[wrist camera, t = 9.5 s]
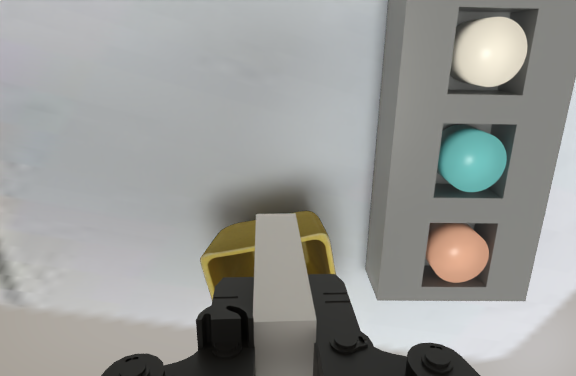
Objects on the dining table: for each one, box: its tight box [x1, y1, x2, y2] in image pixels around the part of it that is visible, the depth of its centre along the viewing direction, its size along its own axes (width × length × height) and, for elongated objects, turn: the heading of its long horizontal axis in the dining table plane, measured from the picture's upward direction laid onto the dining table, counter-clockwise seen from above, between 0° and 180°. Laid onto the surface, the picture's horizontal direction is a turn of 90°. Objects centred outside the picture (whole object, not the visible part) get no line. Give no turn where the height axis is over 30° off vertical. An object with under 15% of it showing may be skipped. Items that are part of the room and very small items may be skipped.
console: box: [365, 0, 576, 301], centre depth 33 cm, size 12×23×5 cm, turn 179°
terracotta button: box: [425, 223, 489, 283], centre depth 34 cm, size 4×4×3 cm
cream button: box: [450, 17, 527, 87], centre depth 30 cm, size 4×4×3 cm
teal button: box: [437, 124, 507, 192], centre depth 32 cm, size 4×4×3 cm
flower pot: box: [200, 211, 336, 300], centre depth 34 cm, size 9×9×9 cm
